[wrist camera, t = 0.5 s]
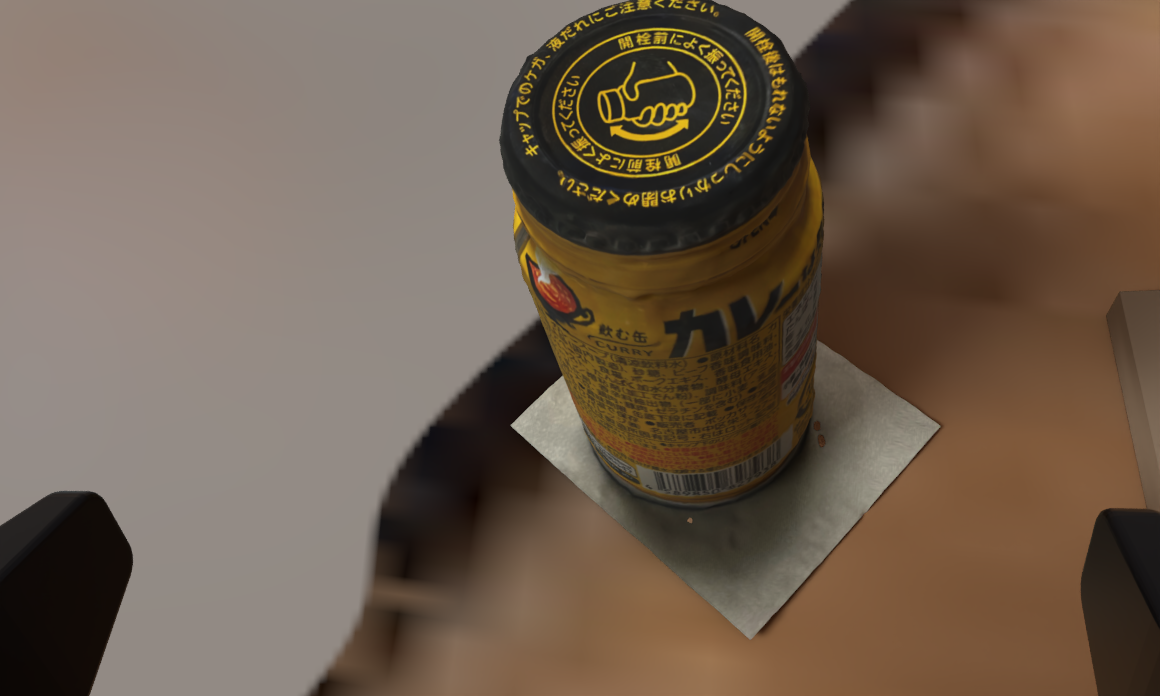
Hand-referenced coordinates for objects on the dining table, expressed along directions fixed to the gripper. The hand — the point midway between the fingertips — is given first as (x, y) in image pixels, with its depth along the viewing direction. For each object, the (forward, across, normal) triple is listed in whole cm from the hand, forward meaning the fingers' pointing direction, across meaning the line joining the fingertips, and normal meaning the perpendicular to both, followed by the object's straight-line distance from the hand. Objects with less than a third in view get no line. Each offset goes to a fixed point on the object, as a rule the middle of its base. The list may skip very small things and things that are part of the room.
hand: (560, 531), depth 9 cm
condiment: (+14, 0, +11) cm, 18 cm away
